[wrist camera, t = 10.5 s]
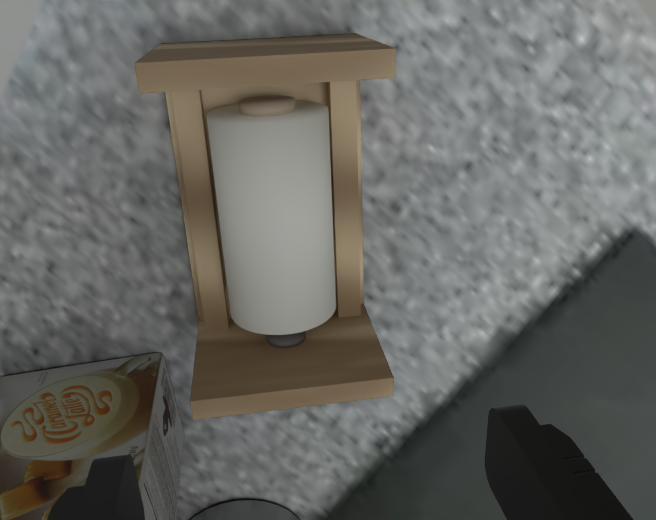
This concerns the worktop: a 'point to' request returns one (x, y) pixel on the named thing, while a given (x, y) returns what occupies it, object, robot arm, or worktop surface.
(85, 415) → the coffee box
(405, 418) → the worktop surface
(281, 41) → the holder
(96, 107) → the worktop surface
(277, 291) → the roll
